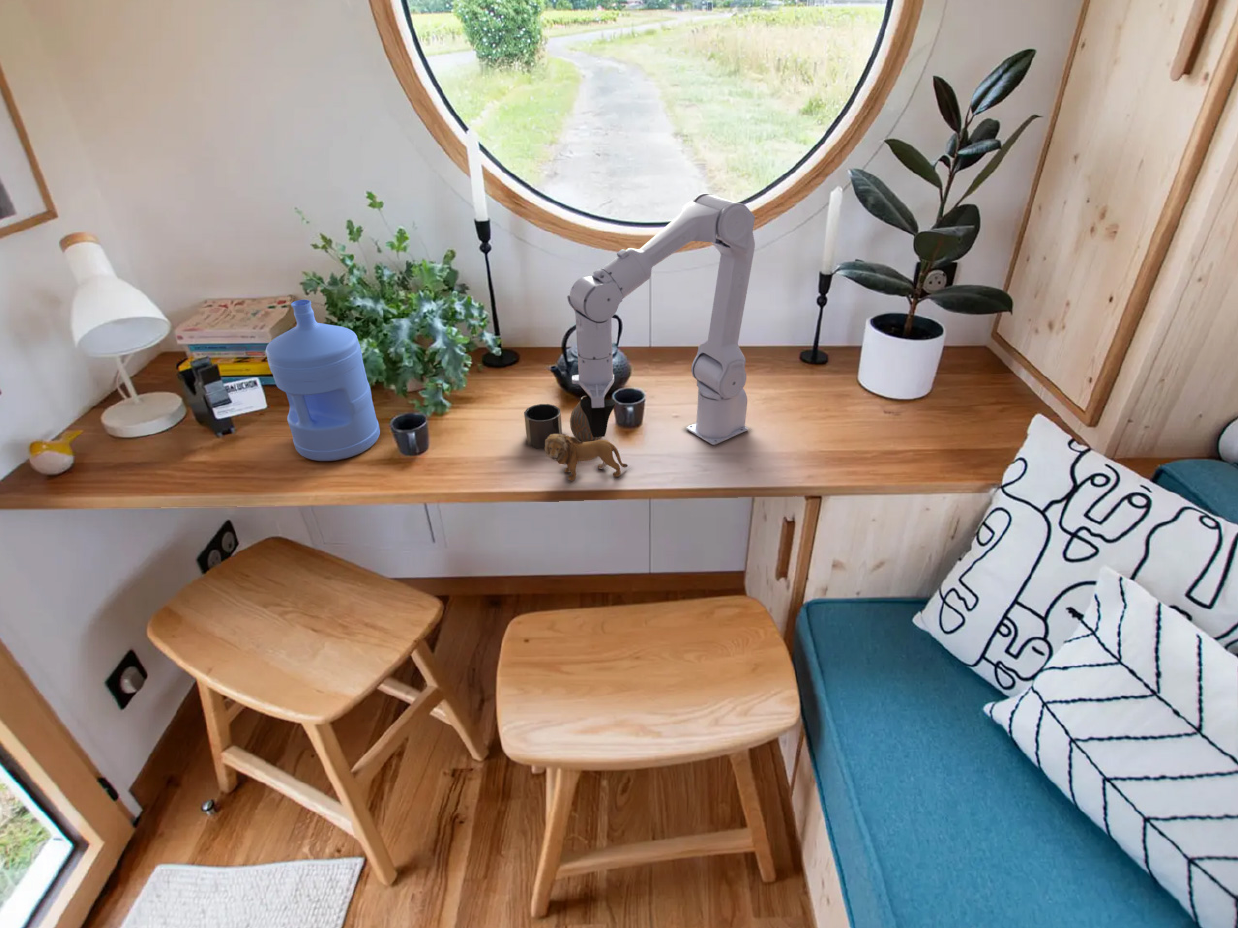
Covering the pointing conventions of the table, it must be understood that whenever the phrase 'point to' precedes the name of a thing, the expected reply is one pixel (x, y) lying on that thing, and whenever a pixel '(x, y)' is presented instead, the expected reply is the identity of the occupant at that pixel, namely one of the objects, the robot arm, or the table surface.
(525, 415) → the tea cup
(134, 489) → the table surface
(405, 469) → the table surface
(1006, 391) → the table surface
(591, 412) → the robot arm
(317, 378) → the water jug
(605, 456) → the lion figurine
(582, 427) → the vase
